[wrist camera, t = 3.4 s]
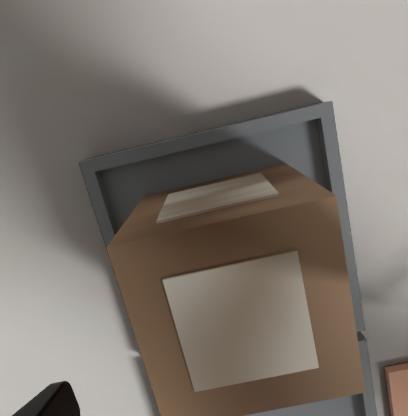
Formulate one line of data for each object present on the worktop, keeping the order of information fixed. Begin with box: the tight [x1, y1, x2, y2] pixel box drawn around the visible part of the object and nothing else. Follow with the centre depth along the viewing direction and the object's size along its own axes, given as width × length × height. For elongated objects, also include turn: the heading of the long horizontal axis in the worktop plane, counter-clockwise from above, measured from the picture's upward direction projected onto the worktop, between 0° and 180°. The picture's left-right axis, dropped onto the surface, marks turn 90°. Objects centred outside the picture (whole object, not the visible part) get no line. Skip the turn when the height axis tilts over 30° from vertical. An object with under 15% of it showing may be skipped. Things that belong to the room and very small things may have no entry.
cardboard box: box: [106, 163, 366, 416], centre depth 13 cm, size 6×6×6 cm
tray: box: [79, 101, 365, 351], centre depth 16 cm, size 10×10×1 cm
